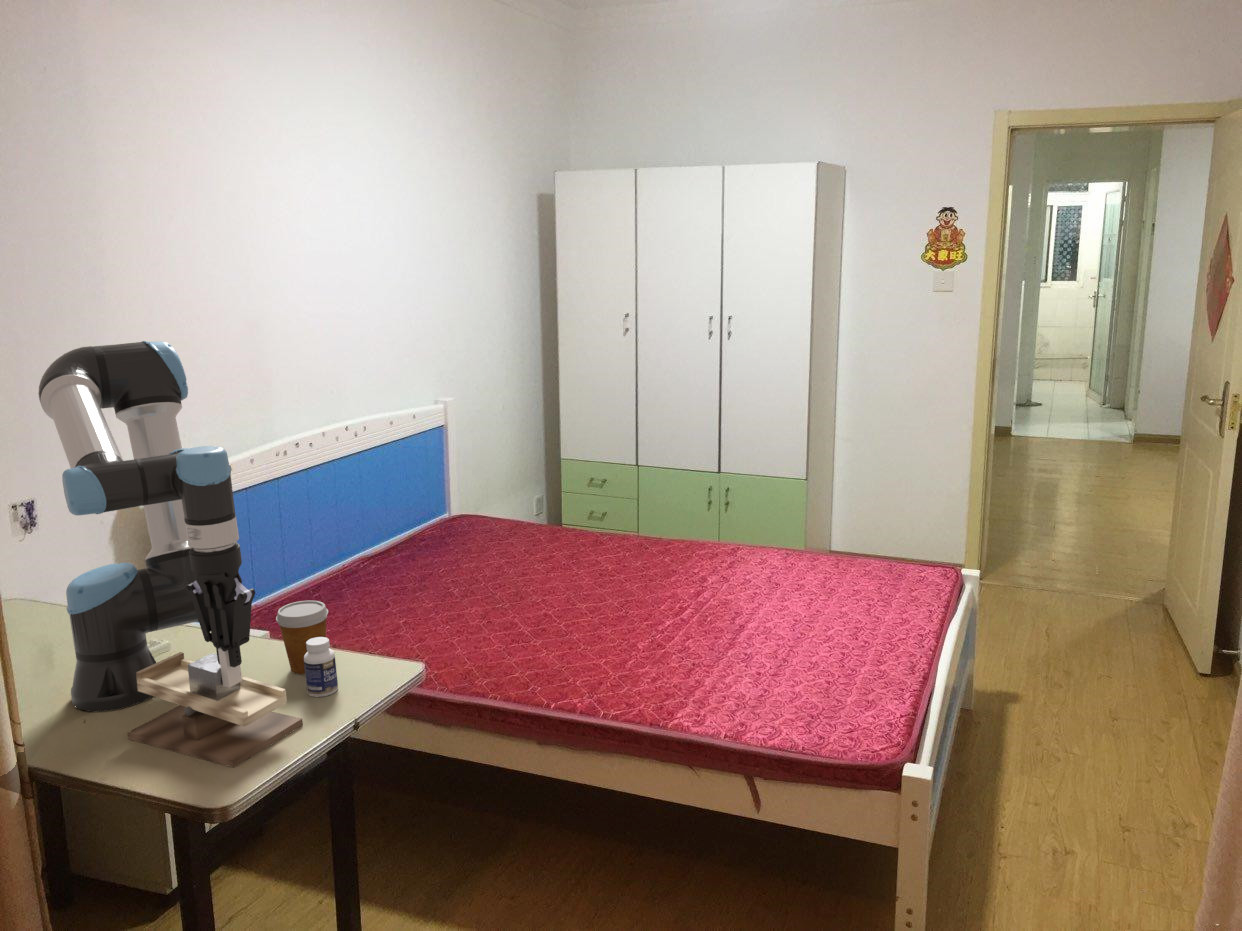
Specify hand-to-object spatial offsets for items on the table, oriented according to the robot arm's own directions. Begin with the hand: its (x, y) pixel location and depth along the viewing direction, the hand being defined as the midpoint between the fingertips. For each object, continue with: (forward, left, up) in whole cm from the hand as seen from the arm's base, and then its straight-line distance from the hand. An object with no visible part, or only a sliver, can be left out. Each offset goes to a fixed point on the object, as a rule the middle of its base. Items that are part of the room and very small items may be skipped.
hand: (232, 683), depth 165 cm
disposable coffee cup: (-9, +26, -10) cm, 29 cm away
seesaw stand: (-5, 0, -10) cm, 11 cm away
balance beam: (-5, 0, -4) cm, 6 cm away
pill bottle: (+1, +19, -10) cm, 21 cm away
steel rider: (-4, 0, -2) cm, 5 cm away
